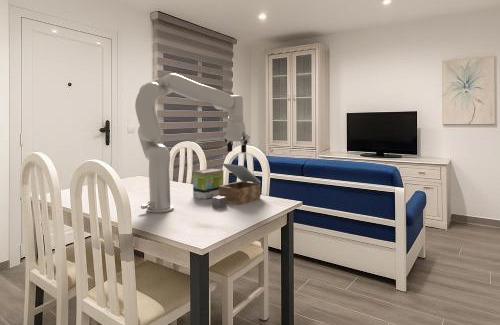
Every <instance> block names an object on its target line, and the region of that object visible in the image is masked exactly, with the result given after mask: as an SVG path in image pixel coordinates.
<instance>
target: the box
mask: <svg viewBox="0 0 500 325" xmlns="http://www.w3.org/2000/svg"><path fill="white" fill-rule="evenodd" d="M219 196H224V197H226V203H228V204H231V205H232V204H234V205H244V204H246V203H249V202H252V201H256V200H255V199H257V200H259V199H258V198H260V199H261V183H255V182H248V181H241V180H240V181H235V182H232V183H226V184H223V185H221V186H219Z"/></svg>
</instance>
